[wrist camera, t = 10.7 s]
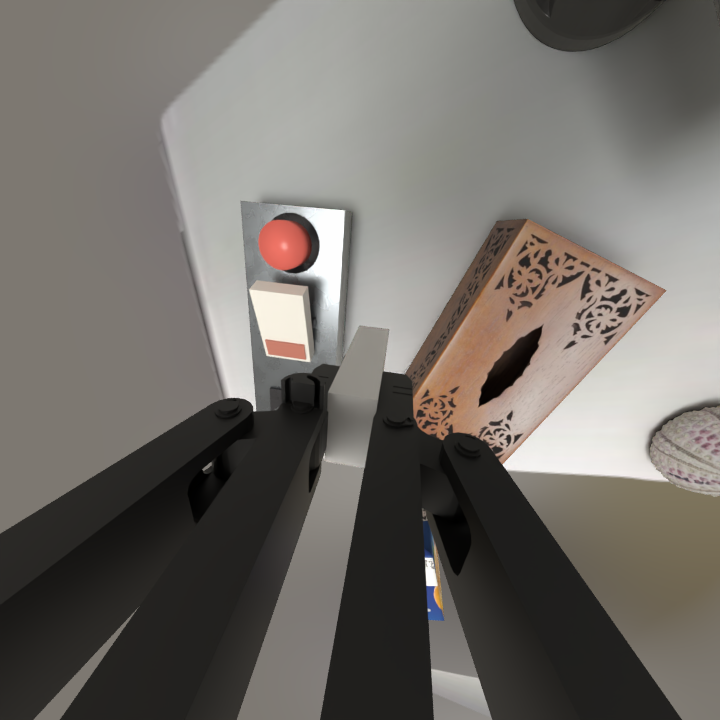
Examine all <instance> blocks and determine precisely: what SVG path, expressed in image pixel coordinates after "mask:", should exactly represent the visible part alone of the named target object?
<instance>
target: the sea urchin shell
mask: <svg viewBox="0 0 720 720" xmlns="http://www.w3.org/2000/svg"><path fill="white" fill-rule="evenodd" d="M652 442H653V443H652V444H651V447H650V457H651V458H652V463H653V464H654V465H655V467H656V470H658V471H660V472H661V474H663V476H664V477H666V479H668V480H669V481H670V483H671V484H675V485H676V486H677V487H681V488H684V489H686V490H691V491H692V492H698V493H704V494H706V495H712V496H714V497H716V496H720V406H717V407H716V408H715V407H711V408H707V407H705V408H703V409H701V410H700V411H692V412H687V413H683V414H682V415H681V416H678V417H675V418H674V419H673V420H669V422H668V423H667V424H665V425H663V427H662V430H661V431H658V432H656V436H654V437H653V439H652Z"/></svg>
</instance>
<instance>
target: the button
mask: <svg viewBox="0 0 720 720" xmlns="http://www.w3.org/2000/svg"><path fill="white" fill-rule="evenodd" d="M258 244H259V250H260V253H261V255H262V257H263V258H264V260H265V261H266V262H267V263H268V264H269V265H270V266H272V267H273V268H275V269H278V270H289V269H292V268H295V267H297V266H300V265H302V264H304V263H305V262H306V261H307V260H308V258H309V256H310V254H311V250H312V242H311V238H310V235H309V233H308V232H307V230H306V229H305V228H304V227H303V226H302V225H301V224H299V223H297V222H295V221H291V220H273V221H270V222H268V223H267V224H266V225H265V226H264V227H263V228H262V230H261V232H260V234H259V239H258Z"/></svg>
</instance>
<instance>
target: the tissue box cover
mask: <svg viewBox="0 0 720 720" xmlns="http://www.w3.org/2000/svg"><path fill="white" fill-rule="evenodd" d="M665 292H666V290H665V289H663V288H661V287H659V286H657V285H655V284H653V283H651V282H649V281H647V280H645V279H643V278H641V277H639V276H637V275H635V274H634V273H632V272H630V271H628V270H626V269H624V268H622V267H620V266H618V265H616V264H614V263H612V262H610V261H608V260H606V259H604V258H603V257H601V256H599V255H597V254H595V253H593V252H591V251H589V250H587V249H585V248H583V247H581V246H579V245H577V244H575V243H573V242H571V241H570V240H568V239H566V238H564V237H562V236H560V235H558V234H556V233H554V232H552V231H550V230H548V229H546V228H544V227H542V226H540V225H539V224H537V223H535V222H533V221H531V220H529V219H520V220H506V221H497V222H496V224H495V225H494V227H493V229H492V230H491V232H490V234H489V235H488V237H487V239H486V240H485V242H484V244H483V245H482V247H481V249H480V250H479V252H478V254H477V255H476V257H475V259H474V260H473V262H472V264H471V265H470V267H469V269H468V270H467V272H466V274H465V275H464V277H463V279H462V280H461V282H460V284H459V285H458V287H457V289H456V290H455V292H454V294H453V295H452V297H451V299H450V300H449V302H448V303H447V305H446V307H445V308H444V310H443V312H442V313H441V315H440V317H439V318H438V320H437V322H436V323H435V325H434V327H433V328H432V330H431V332H430V333H429V335H428V337H427V338H426V340H425V342H424V343H423V345H422V347H421V348H420V350H419V352H418V353H417V355H416V357H415V358H414V360H413V362H412V363H411V365H410V367H409V368H408V370H407V372H406V373H405V375H407V376H408V377H409V378H410V379H411V381H412V387H413V389H412V390H413V411H414V418H415V419H416V422H417V424H418V427H419V428H420V429H421V430H422V431H424V432H425V433H427V434H429V435H431V436H433V437H435V438H438V439H441V440H444V438H445V436H447V435H448V434H450V433H456V432H460V433H467V434H470V435H473V436H475V437H477V438H479V439H481V440H482V441H484V442H485V443H486V444H487V445H488V446H489V447H490V448H491V449H492V451H493V452H494V454H495V455H496V457H497V458H498V459H499V461H500V462H501V464H503V463H504V462H505V461H506V460H507V459H508V458H509V457H510V456H511V455H512V454H513V453H514V451H515V450H516V449H517V448H518V447H519V446H520V445H521V444H522V443H523V442H524V441H525V440H526V439H527V438H528V437H529V436H530V435H531V433H532V432H533V431H534V430H535V429H536V428H537V427H538V426H539V425H540V424H541V423H542V422H543V421H544V420H545V419H546V418H547V417H548V415H549V414H550V413H551V412H552V411H553V410H554V409H555V408H556V407H557V406H558V405H559V404H560V403H561V402H562V401H563V400H564V399H565V397H566V396H567V395H568V394H569V393H570V392H571V391H572V390H573V389H574V388H575V387H576V386H577V385H578V384H579V383H580V382H581V381H582V379H583V378H584V377H585V376H586V375H587V374H588V373H589V372H590V371H591V370H592V369H593V368H594V367H595V366H596V365H597V364H598V363H599V361H600V360H601V359H602V358H603V357H604V356H605V355H606V354H607V353H608V352H609V351H610V350H611V349H612V348H613V347H614V346H615V344H616V343H617V342H618V341H619V340H620V339H621V338H622V337H623V336H624V335H625V334H626V333H627V332H628V331H629V330H630V329H631V328H632V326H633V325H634V324H635V323H636V322H637V321H638V320H639V319H640V318H641V317H642V316H643V315H644V314H645V313H646V312H647V311H648V310H649V308H650V307H651V306H652V305H653V304H654V303H655V302H656V301H657V300H658V299H659V298H660V297H661V296H662V295H663V294H664V293H665Z"/></svg>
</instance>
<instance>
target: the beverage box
mask: <svg viewBox="0 0 720 720" xmlns="http://www.w3.org/2000/svg"><path fill="white" fill-rule="evenodd" d="M422 513H423V532H424V550H425V568H426V587H427V605H428V620H442V621H443V620H444V616H443V615H444V614H443V605H442V594H441V584H440V574H439V563H438V552H437V548H436V545H435V542H434V539H433V536H432V532H431V529H430V526H429V523H428V520H427V517H426V512H425V509H423V508H422Z"/></svg>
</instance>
